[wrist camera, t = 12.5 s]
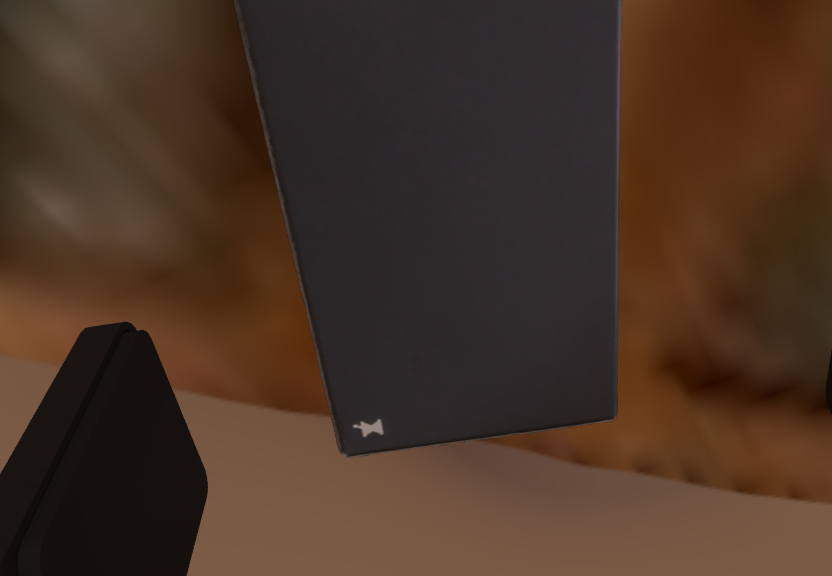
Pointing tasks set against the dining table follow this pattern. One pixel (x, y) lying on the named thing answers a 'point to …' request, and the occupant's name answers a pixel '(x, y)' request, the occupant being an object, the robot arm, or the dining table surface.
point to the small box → (448, 208)
